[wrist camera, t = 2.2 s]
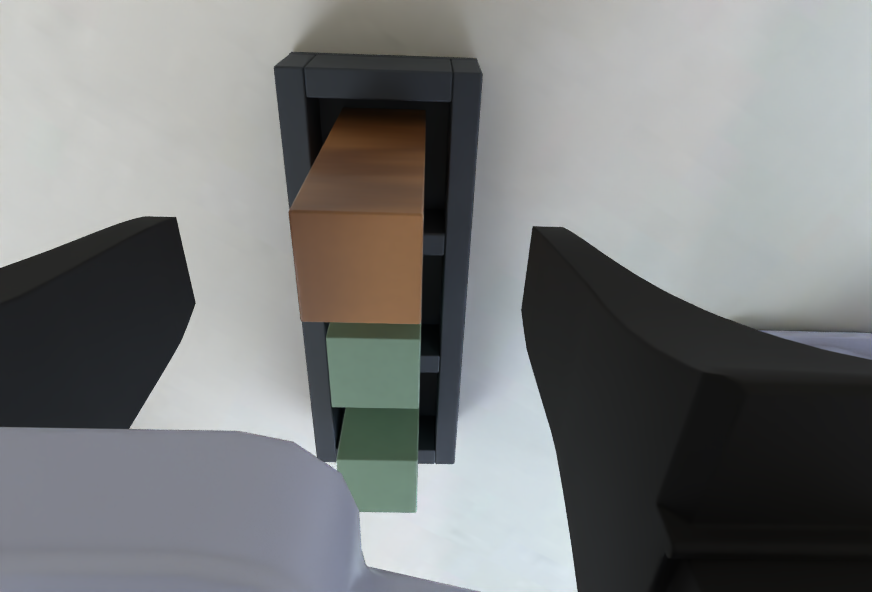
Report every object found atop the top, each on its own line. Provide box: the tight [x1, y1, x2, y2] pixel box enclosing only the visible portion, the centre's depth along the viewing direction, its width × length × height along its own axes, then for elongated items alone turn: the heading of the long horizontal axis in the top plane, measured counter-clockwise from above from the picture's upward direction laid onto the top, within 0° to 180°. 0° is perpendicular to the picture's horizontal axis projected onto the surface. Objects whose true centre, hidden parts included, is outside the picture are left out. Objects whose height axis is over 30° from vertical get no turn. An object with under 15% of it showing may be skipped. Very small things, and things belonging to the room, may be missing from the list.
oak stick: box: [289, 107, 426, 324], centre depth 15 cm, size 3×3×8 cm
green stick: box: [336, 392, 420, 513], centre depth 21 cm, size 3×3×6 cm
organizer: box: [274, 52, 483, 464], centre depth 20 cm, size 6×15×2 cm, turn 178°
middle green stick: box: [326, 264, 423, 409], centre depth 19 cm, size 3×3×6 cm
